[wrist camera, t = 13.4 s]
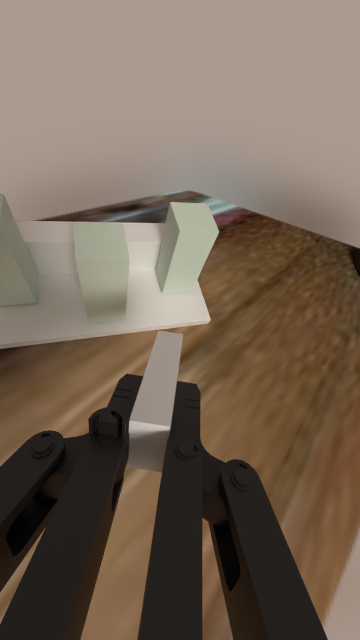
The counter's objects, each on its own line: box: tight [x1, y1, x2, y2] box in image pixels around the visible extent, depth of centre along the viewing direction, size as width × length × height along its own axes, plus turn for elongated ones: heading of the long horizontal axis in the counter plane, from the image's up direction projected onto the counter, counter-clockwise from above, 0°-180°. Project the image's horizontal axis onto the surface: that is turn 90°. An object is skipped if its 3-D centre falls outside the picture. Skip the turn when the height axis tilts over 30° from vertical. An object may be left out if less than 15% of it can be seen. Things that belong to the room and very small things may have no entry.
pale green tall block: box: [156, 202, 219, 294], centre depth 28 cm, size 4×4×10 cm
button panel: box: [0, 221, 211, 349], centre depth 28 cm, size 25×12×6 cm, turn 104°
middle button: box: [73, 223, 130, 323], centre depth 24 cm, size 4×4×10 cm
